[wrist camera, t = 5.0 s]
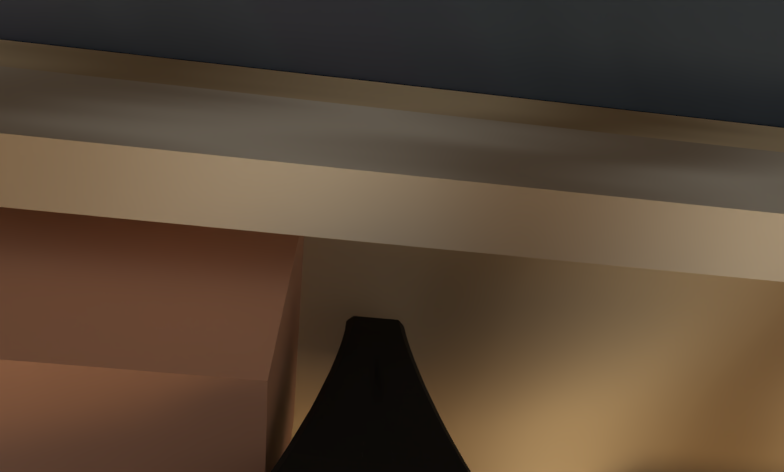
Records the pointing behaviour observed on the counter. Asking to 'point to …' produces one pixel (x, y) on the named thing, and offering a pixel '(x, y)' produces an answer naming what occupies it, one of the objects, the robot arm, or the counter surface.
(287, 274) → the block
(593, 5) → the counter surface
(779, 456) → the wooden tray
